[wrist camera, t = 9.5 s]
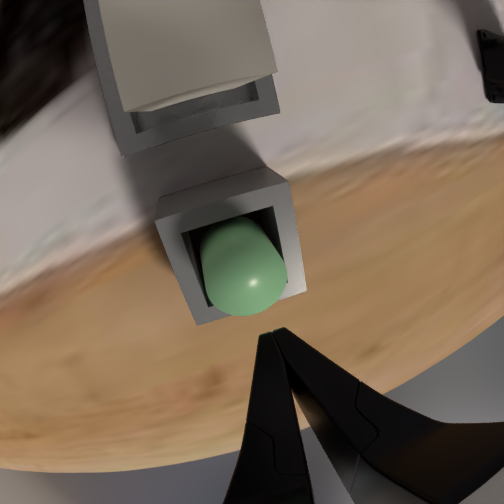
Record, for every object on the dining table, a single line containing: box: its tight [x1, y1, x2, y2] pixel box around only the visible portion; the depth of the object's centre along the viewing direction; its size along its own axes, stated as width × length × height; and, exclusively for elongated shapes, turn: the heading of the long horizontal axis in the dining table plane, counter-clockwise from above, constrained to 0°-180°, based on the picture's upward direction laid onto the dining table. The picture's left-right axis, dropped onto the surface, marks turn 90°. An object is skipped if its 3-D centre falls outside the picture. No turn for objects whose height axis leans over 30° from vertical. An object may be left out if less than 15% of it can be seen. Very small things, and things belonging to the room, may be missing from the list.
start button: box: [200, 216, 287, 316], centre depth 14 cm, size 3×3×3 cm
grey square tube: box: [154, 166, 307, 325], centre depth 16 cm, size 6×6×4 cm
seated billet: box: [98, 0, 278, 112], centre depth 9 cm, size 4×4×7 cm
